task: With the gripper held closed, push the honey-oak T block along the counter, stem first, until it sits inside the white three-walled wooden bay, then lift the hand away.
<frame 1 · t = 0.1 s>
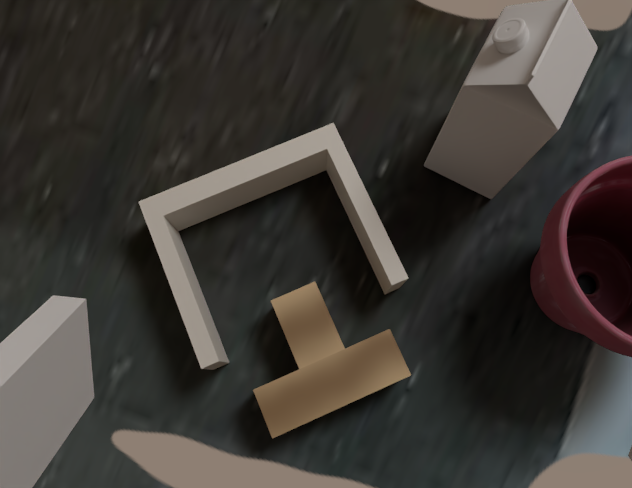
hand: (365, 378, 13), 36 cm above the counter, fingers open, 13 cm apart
plant pot: (577, 282, 49), on the counter
tee: (330, 381, 47), on the counter
bay: (253, 200, 51), on the counter
milk carton: (471, 153, 52), on the counter
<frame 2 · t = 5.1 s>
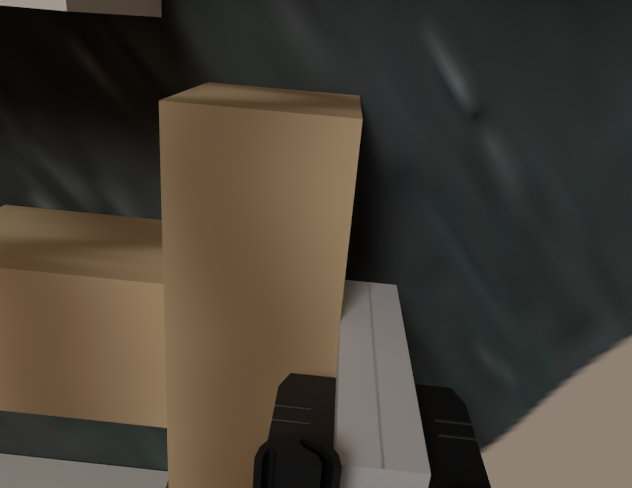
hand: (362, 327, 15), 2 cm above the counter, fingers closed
tee: (271, 292, 17), on the counter
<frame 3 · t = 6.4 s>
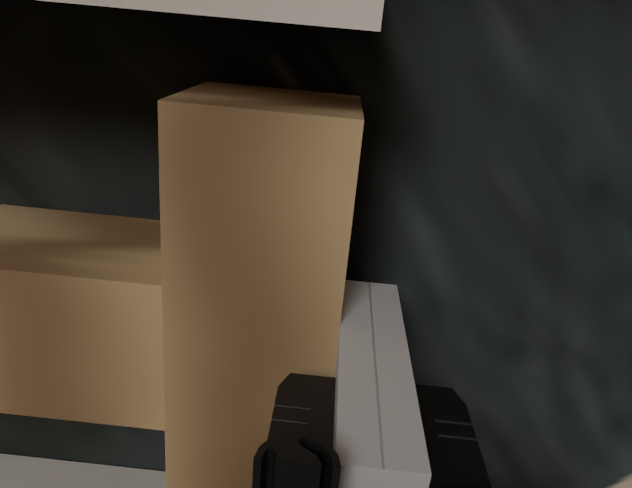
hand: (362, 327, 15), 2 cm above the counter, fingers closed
tee: (270, 293, 16), on the counter, touching gripper
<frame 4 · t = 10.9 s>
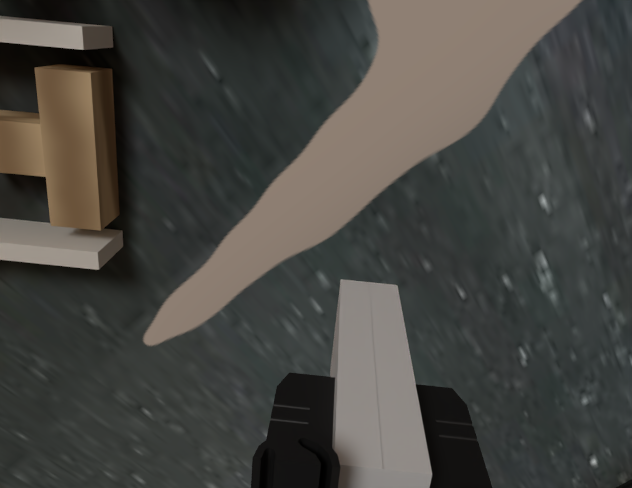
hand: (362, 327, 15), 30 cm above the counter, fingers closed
tee: (92, 142, 45), on the counter
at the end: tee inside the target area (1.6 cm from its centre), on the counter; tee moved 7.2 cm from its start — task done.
